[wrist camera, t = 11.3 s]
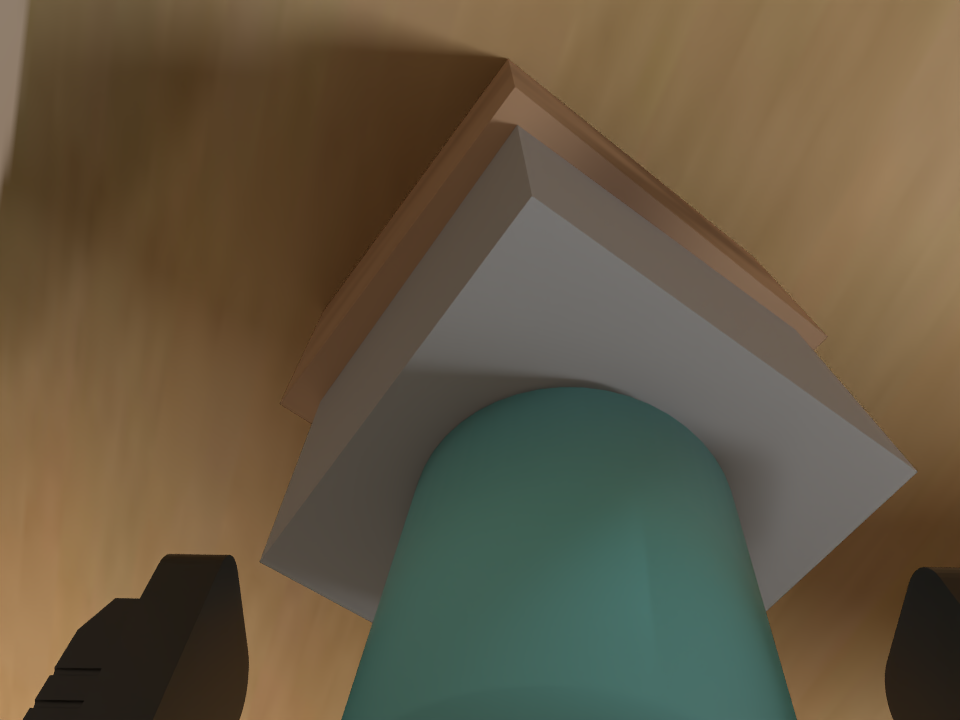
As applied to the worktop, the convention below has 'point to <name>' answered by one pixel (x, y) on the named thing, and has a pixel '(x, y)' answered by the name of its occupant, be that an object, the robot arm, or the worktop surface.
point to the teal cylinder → (571, 576)
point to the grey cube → (576, 379)
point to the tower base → (450, 183)
